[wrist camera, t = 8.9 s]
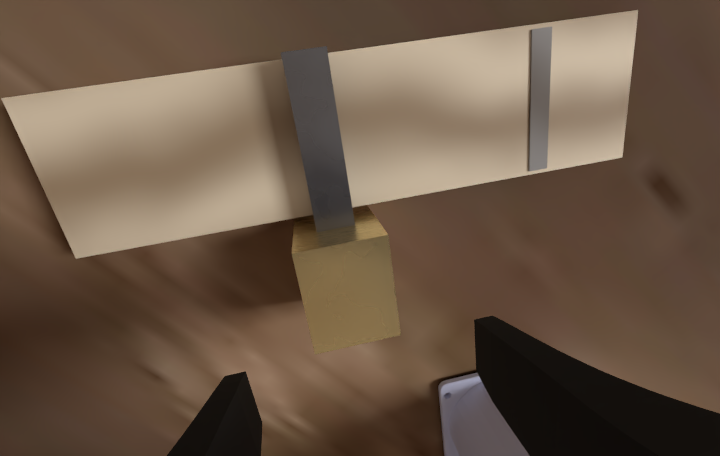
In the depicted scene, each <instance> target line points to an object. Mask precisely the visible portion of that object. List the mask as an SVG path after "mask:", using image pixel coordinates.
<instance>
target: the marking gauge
mask: <svg viewBox="0 0 720 456" xmlns="http://www.w3.org/2000/svg"><path fill="white" fill-rule="evenodd" d="M281 56H282V61H283V66H284V71H285V76H286V81H287V86H288V91H289V96H290V101H291V106H292V111H293V116H294V121H295V126H296V131H297V136H298V141H299V146H300V151H301V156H302V161H303V166H304V171H305V176H306V181H307V186H308V191H309V196H310V201H311V206H312V211H313V215H311V216H306V217H300V218H295V220H294V231H293V243H292V258H293V262H294V266H295V270H296V275H297V279H298V283H299V288H300V292H301V296H302V301H303V305H304V309H305V313H306V318H307V322H308V326H309V331H310V335H311V339H312V344H313V348H314V352H315V354H319V353H323V352H328V351H332V350H337V349H341V348H346V347H350V346H354V345H359V344H363V343H368V342H372V341H377V340H381V339H385V338H390V337H394V336H399V335H401V333H400V325H399V317H398V309H397V301H396V293H395V285H394V277H393V270H392V262H391V254H390V246H389V238H388V234H387V233H386V231H385V230H384V228H383V227H382V225H381V224H380V223H379V221H378V220H377V218H376V217H375V216H374V214H373V213H372V211H371V210H370V209H369V207H368V206H367V205H365V206H360V207H354V208H352V202H351V196H350V190H349V183H348V177H347V171H346V165H345V158H344V152H343V146H342V139H341V133H340V127H339V121H338V114H337V108H336V102H335V96H334V89H333V83H332V77H331V71H330V64H329V58H328V52H327V46H325V47H318V48H311V49H303V50H296V51H288V52H281Z"/></svg>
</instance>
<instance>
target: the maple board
mask: <svg viewBox="0 0 720 456" xmlns="http://www.w3.org/2000/svg"><path fill="white" fill-rule="evenodd" d="M637 17H638V10H635V11H628V12H621V13H613V14H606V15H599V16H592V17H584V18H577V19H570V20H563V21H556V22H548V23H541V24H534V25H527V26H520V27H512V28H505V29H498V30H491V31H483V32H476V33H469V34H462V35H455V36H447V37H440V38H433V39H426V40H419V41H411V42H404V43H397V44H390V45H382V46H375V47H368V48H361V49H354V50H346V51H339V52H332V53H328V58H329V64H330V71H331V77H332V83H333V89H334V96H335V102H336V108H337V114H338V121H339V127H340V133H341V139H342V146H343V152H344V158H345V165H346V171H347V177H348V183H349V190H350V196H351V202H352V207H357V206H363V205H368V204H374V203H379V202H384V201H390V200H395V199H401V198H406V197H411V196H417V195H422V194H428V193H433V192H438V191H444V190H449V189H455V188H460V187H465V186H471V185H476V184H482V183H487V182H492V181H498V180H503V179H509V178H514V177H519V176H525V175H530V174H536V173H541V172H546V171H552V170H557V169H563V168H568V167H573V166H579V165H584V164H590V163H595V162H600V161H606V160H611V159H617V158H622V155H623V146H624V136H625V127H626V118H627V109H628V100H629V90H630V81H631V72H632V63H633V54H634V45H635V35H636V26H637ZM1 99H2V101H3V103H4V105H5V108H6V110H7V112H8V114H9V116H10V118H11V120H12V123H13V125H14V127H15V129H16V131H17V133H18V135H19V138H20V140H21V142H22V144H23V146H24V148H25V150H26V153H27V155H28V157H29V159H30V161H31V163H32V166H33V168H34V170H35V172H36V174H37V176H38V178H39V181H40V183H41V185H42V187H43V189H44V191H45V193H46V196H47V198H48V200H49V202H50V204H51V206H52V208H53V211H54V213H55V215H56V217H57V219H58V221H59V223H60V226H61V228H62V230H63V232H64V234H65V236H66V238H67V241H68V243H69V245H70V247H71V249H72V251H73V253H74V256H75V258H76V259H77V258H82V257H88V256H93V255H98V254H104V253H109V252H115V251H120V250H125V249H131V248H136V247H142V246H147V245H152V244H158V243H163V242H169V241H174V240H179V239H185V238H190V237H196V236H201V235H206V234H212V233H217V232H223V231H228V230H233V229H239V228H244V227H250V226H255V225H260V224H266V223H271V222H277V221H282V220H287V219H293V218H298V217H304V216H309V215H313V211H312V206H311V201H310V196H309V191H308V186H307V181H306V176H305V171H304V166H303V161H302V156H301V151H300V146H299V141H298V136H297V131H296V126H295V121H294V116H293V111H292V106H291V101H290V96H289V91H288V86H287V81H286V76H285V71H284V66H283V61H282V59H281V60H274V61H267V62H260V63H253V64H245V65H238V66H231V67H224V68H216V69H209V70H202V71H195V72H188V73H180V74H173V75H166V76H159V77H152V78H144V79H137V80H130V81H123V82H115V83H108V84H101V85H94V86H87V87H79V88H72V89H65V90H58V91H50V92H43V93H36V94H29V95H22V96H14V97H7V98H1Z"/></svg>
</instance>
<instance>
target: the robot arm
mask: <svg viewBox="0 0 720 456" xmlns="http://www.w3.org/2000/svg"><path fill="white" fill-rule="evenodd" d="M474 323H475V348H476V371H477V373H473V374H469V375H465V376H461V377H457V378H453V379H449V380H445V381H442V382H441V383H440V384H439V386H438V390H439V402H440V413H441V424H442V435H443V446H444V456H720V414H719V413H716V412H713V411H709V410H706V409H703V408H700V407H697V406H694V405H691V404H688V403H685V402H682V401H679V400H676V399H673V398H670V397H667V396H664V395H661V394H658V393H656V392H653V391H650V390H647V389H645V388H642V387H640V386H637V385H635V384H632V383H629V382H627V381H624V380H622V379H619V378H617V377H614V376H612V375H610V374H607V373H605V372H603V371H600V370H598V369H596V368H594V367H592V366H590V365H587V364H585V363H583V362H581V361H579V360H577V359H574V358H572V357H570V356H568V355H566V354H564V353H562V352H560V351H558V350H556V349H554V348H552V347H551V346H549V345H547V344H545V343H543V342H541V341H539V340H537V339H535V338H533V337H532V336H530V335H528V334H526V333H524V332H522V331H521V330H519V329H517V328H515V327H513V326H511V325H509V324H508V323H506V322H504V321H502V320H500V319H498V318H496V317H494V316H489V317H484V318H480V319H476V320H474ZM446 393H447V394H446ZM261 441H262V421H261V418H260V415H259V412H258V408H257V405H256V402H255V399H254V396H253V393H252V390H251V387H250V384H249V381H248V377H247V374H246V372H241V373H237V374H233V375H228V376H225V377H224V378H223V380H222V381H221V382H220V384H219V385H218V386H217V388H216V389H215V391H214V392H213V393H212V395H211V396H210V398H209V399H208V400H207V402H206V403H205V405H204V406H203V408H202V409H201V410H200V412H199V413H198V415H197V416H196V417H195V419H194V420H193V421H192V423H191V424H190V426H189V427H188V428H187V430H186V431H185V432H184V434H183V435H182V436H181V438H180V439H179V441H178V442H177V443H176V445H175V446H174V447H173V448H172V450H171V451H170V452H169V453H168V455H167V456H261Z"/></svg>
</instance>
